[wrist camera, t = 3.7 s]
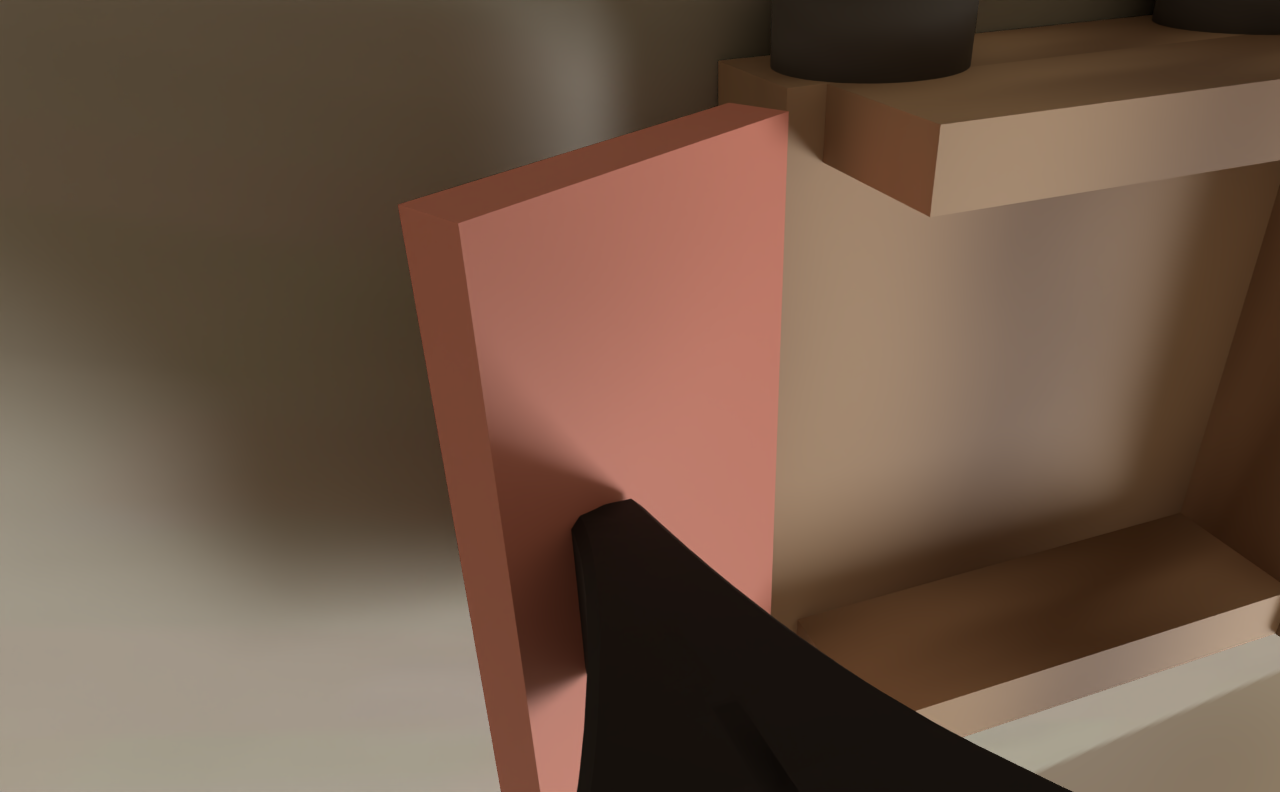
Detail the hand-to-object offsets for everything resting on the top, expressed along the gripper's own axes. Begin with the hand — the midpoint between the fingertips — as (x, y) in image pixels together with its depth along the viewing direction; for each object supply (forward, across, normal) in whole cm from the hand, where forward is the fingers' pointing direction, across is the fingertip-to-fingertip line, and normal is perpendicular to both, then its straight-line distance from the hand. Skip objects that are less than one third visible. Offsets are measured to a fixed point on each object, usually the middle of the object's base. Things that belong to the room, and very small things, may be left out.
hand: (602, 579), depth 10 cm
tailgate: (+2, -3, 0) cm, 3 cm away
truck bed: (+4, -8, 0) cm, 9 cm away
